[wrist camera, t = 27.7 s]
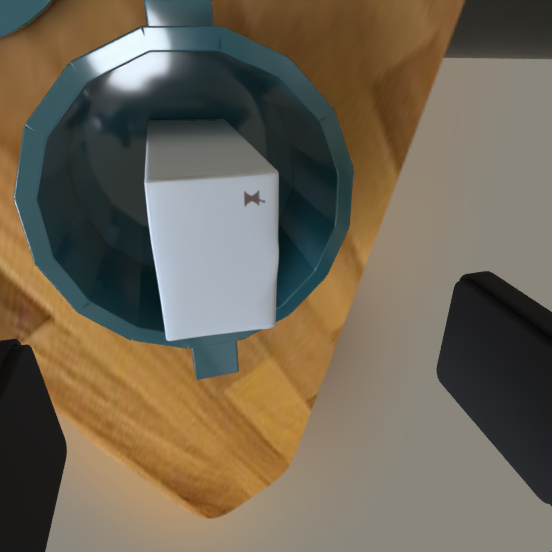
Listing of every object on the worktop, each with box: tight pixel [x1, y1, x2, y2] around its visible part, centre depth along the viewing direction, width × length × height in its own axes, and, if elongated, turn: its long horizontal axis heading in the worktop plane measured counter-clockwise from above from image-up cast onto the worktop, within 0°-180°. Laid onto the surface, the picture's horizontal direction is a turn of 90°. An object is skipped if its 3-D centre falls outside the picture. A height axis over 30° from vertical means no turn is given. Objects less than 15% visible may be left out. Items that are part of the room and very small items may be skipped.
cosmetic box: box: [144, 119, 279, 341], centre depth 19 cm, size 6×4×12 cm
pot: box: [14, 0, 354, 380], centre depth 21 cm, size 14×19×8 cm
